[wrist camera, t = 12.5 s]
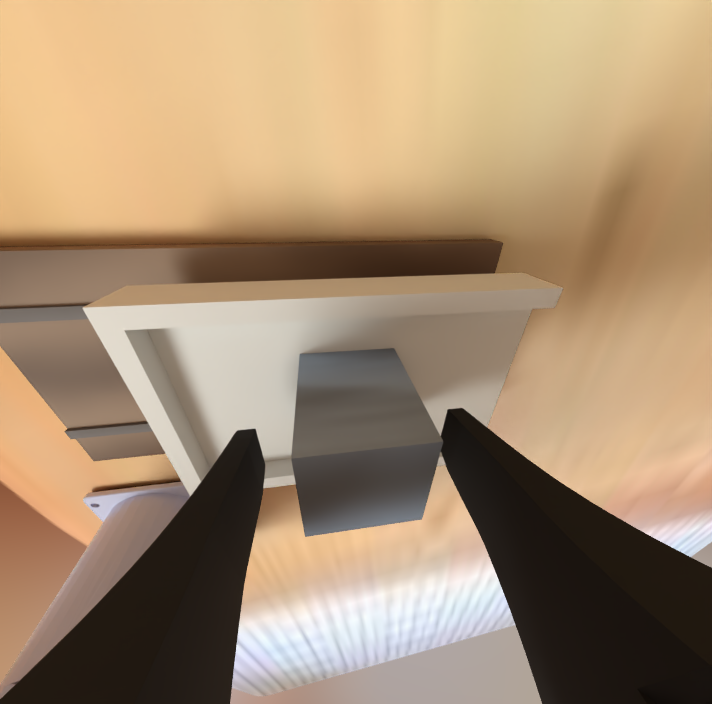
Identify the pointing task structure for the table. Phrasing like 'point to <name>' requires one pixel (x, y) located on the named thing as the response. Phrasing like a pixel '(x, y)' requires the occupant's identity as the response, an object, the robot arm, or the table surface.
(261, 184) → the table surface
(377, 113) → the table surface
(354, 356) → the block
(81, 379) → the track board
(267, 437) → the shallow rimmed tray
